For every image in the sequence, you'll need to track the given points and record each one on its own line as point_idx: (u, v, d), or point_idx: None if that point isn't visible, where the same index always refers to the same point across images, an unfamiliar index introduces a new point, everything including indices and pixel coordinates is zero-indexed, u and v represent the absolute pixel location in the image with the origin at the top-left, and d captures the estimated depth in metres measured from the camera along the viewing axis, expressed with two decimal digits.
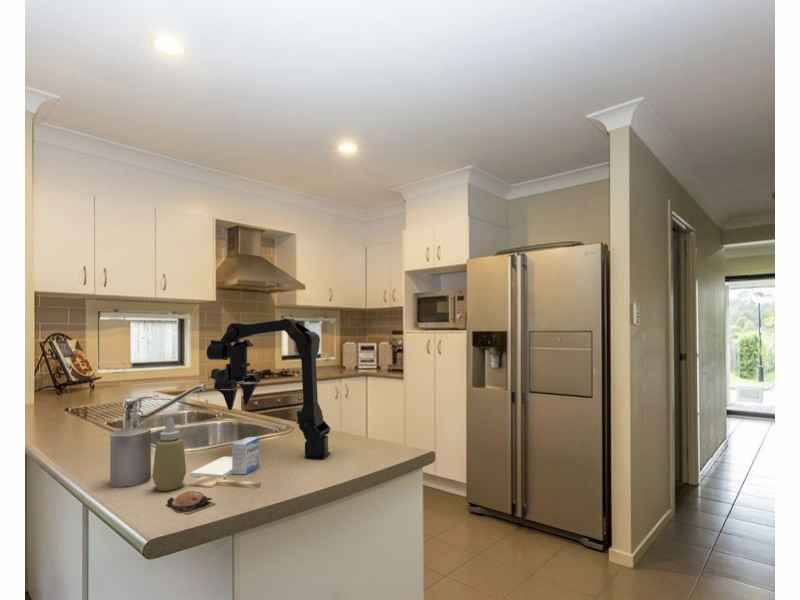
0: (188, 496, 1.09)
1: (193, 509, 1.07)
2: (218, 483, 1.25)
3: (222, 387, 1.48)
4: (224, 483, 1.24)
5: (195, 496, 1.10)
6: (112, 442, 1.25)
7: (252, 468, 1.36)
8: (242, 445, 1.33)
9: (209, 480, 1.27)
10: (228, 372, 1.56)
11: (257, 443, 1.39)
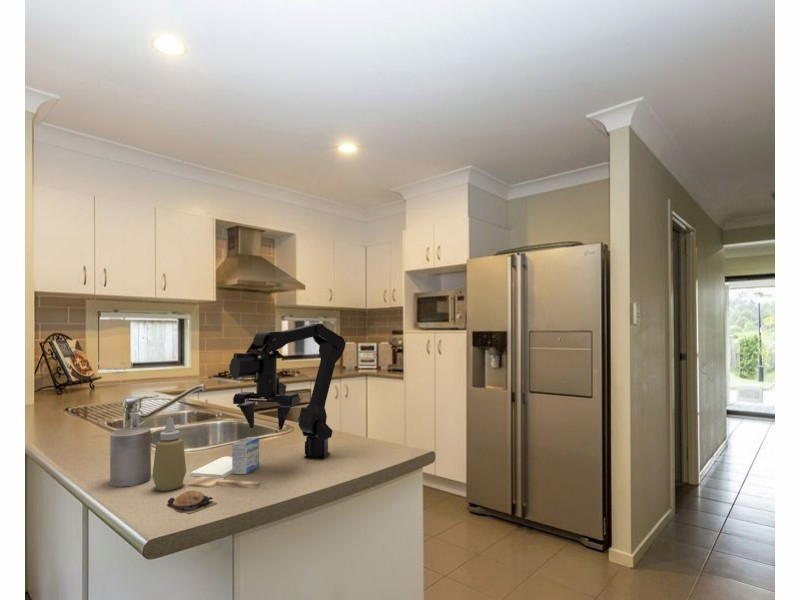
0: (189, 496, 1.09)
1: (195, 508, 1.08)
2: (218, 483, 1.25)
3: None
4: (224, 483, 1.24)
5: (196, 496, 1.10)
6: (112, 442, 1.25)
7: (252, 468, 1.36)
8: (242, 445, 1.33)
9: (209, 480, 1.27)
10: None
11: (257, 443, 1.39)
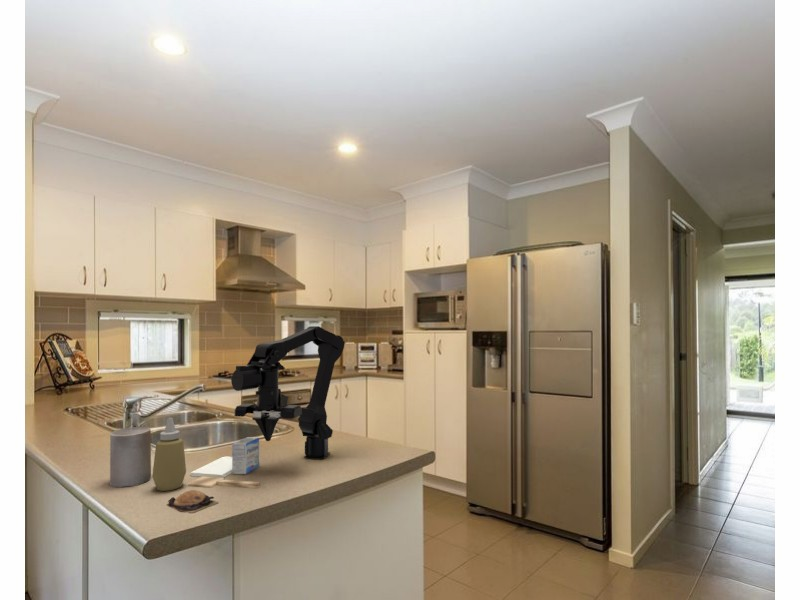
0: (191, 496, 1.10)
1: (197, 508, 1.08)
2: (218, 483, 1.25)
3: None
4: (224, 483, 1.24)
5: (198, 495, 1.10)
6: (112, 442, 1.25)
7: (252, 468, 1.36)
8: (242, 445, 1.33)
9: (209, 480, 1.27)
10: None
11: (257, 443, 1.39)
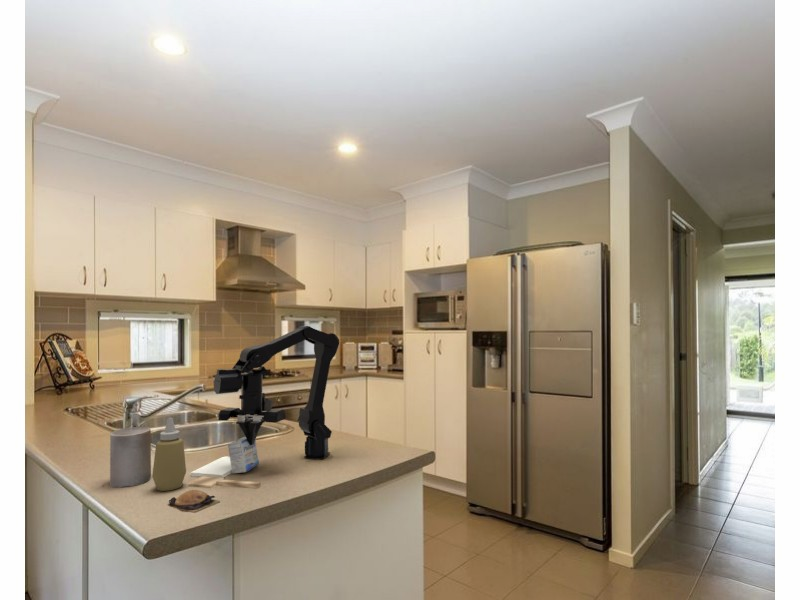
0: (192, 495, 1.10)
1: (199, 507, 1.09)
2: (218, 483, 1.25)
3: None
4: (224, 483, 1.24)
5: (199, 495, 1.11)
6: (112, 442, 1.25)
7: (252, 465, 1.36)
8: (238, 444, 1.34)
9: (209, 480, 1.27)
10: None
11: None
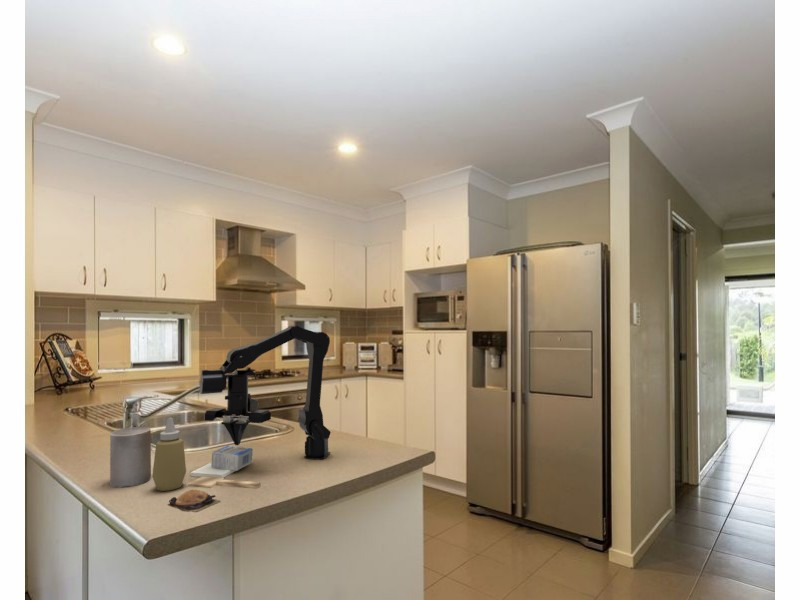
0: (193, 495, 1.10)
1: (200, 507, 1.09)
2: (218, 483, 1.25)
3: None
4: (224, 483, 1.24)
5: (200, 494, 1.11)
6: (112, 442, 1.25)
7: (243, 451, 1.37)
8: (213, 456, 1.35)
9: (209, 480, 1.27)
10: None
11: (229, 446, 1.42)
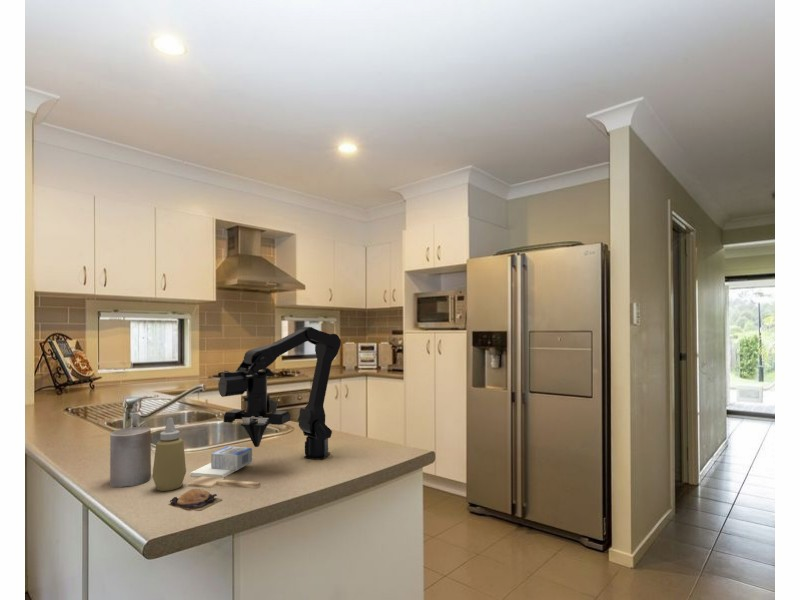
0: (196, 494, 1.11)
1: (204, 505, 1.10)
2: (218, 483, 1.25)
3: None
4: (224, 483, 1.24)
5: (203, 493, 1.12)
6: (112, 442, 1.25)
7: (242, 451, 1.37)
8: (212, 457, 1.35)
9: (209, 480, 1.27)
10: None
11: (229, 447, 1.42)
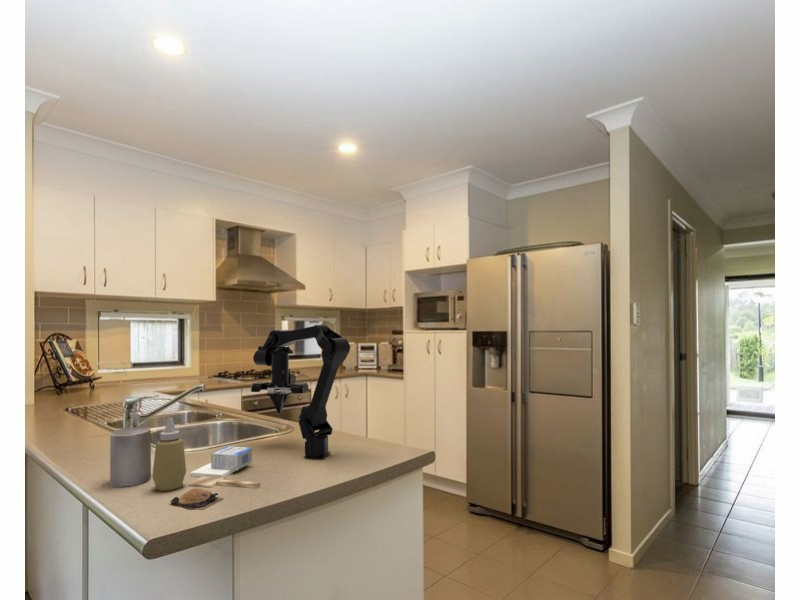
0: (197, 493, 1.11)
1: (206, 505, 1.10)
2: (218, 483, 1.25)
3: None
4: (224, 483, 1.24)
5: (204, 493, 1.12)
6: (112, 442, 1.25)
7: (242, 451, 1.37)
8: (212, 457, 1.35)
9: (209, 480, 1.27)
10: None
11: (229, 447, 1.42)
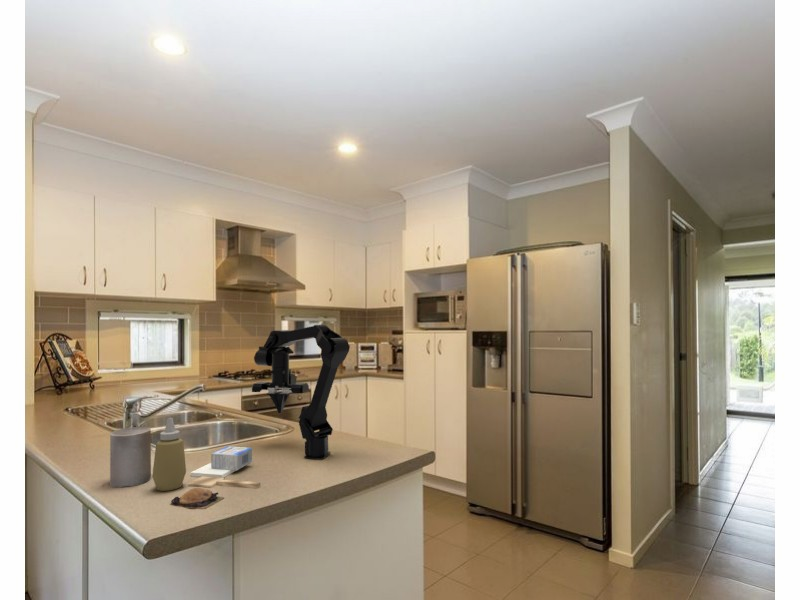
0: (198, 493, 1.12)
1: (207, 504, 1.11)
2: (218, 483, 1.25)
3: None
4: (224, 483, 1.24)
5: (205, 492, 1.12)
6: (112, 442, 1.25)
7: (242, 451, 1.37)
8: (212, 457, 1.35)
9: (209, 480, 1.27)
10: None
11: (229, 447, 1.42)
